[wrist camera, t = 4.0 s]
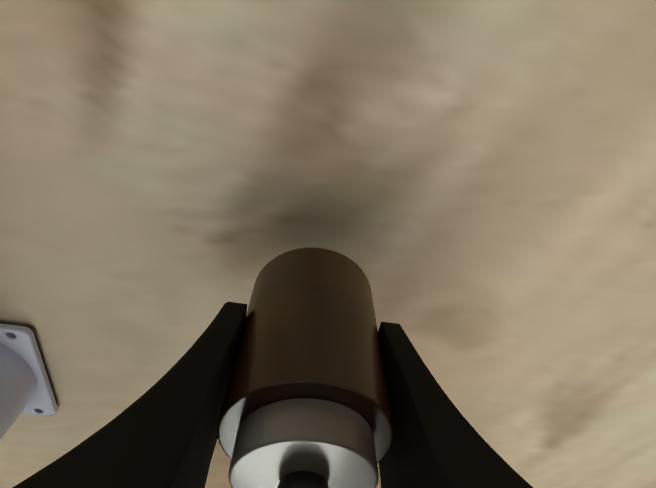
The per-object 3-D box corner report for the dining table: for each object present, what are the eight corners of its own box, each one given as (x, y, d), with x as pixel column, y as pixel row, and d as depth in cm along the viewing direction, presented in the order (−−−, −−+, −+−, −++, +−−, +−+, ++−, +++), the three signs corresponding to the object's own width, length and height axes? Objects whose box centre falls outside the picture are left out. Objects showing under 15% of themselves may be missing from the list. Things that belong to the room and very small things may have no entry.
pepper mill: (250, 330, 15) (193, 564, 9) (258, 237, 13) (190, 462, 6) (357, 344, 15) (379, 577, 9) (383, 256, 13) (438, 484, 7)
